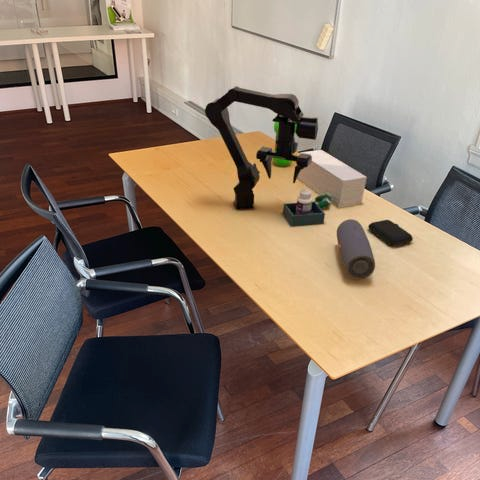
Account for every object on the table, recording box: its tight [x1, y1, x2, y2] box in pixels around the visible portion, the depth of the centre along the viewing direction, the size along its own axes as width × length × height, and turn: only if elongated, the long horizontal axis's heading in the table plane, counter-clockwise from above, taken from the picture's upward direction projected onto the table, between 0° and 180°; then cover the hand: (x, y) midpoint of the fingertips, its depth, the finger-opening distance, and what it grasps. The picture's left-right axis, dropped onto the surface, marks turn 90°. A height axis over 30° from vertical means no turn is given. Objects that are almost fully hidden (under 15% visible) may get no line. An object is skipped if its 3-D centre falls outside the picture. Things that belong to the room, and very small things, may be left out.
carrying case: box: [367, 219, 414, 247], centre depth 161 cm, size 11×3×15 cm
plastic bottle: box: [272, 122, 297, 167], centre depth 205 cm, size 10×10×25 cm
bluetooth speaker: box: [336, 218, 376, 280], centre depth 144 cm, size 23×9×10 cm, turn 178°
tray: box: [282, 200, 326, 227], centre depth 169 cm, size 12×10×4 cm
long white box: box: [297, 149, 368, 209], centre depth 188 cm, size 32×11×11 cm, turn 25°
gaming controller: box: [314, 193, 332, 210], centre depth 179 cm, size 9×4×6 cm
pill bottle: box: [295, 189, 313, 215], centre depth 167 cm, size 5×5×10 cm
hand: (281, 180), depth 167 cm, fingers open, 9 cm apart
